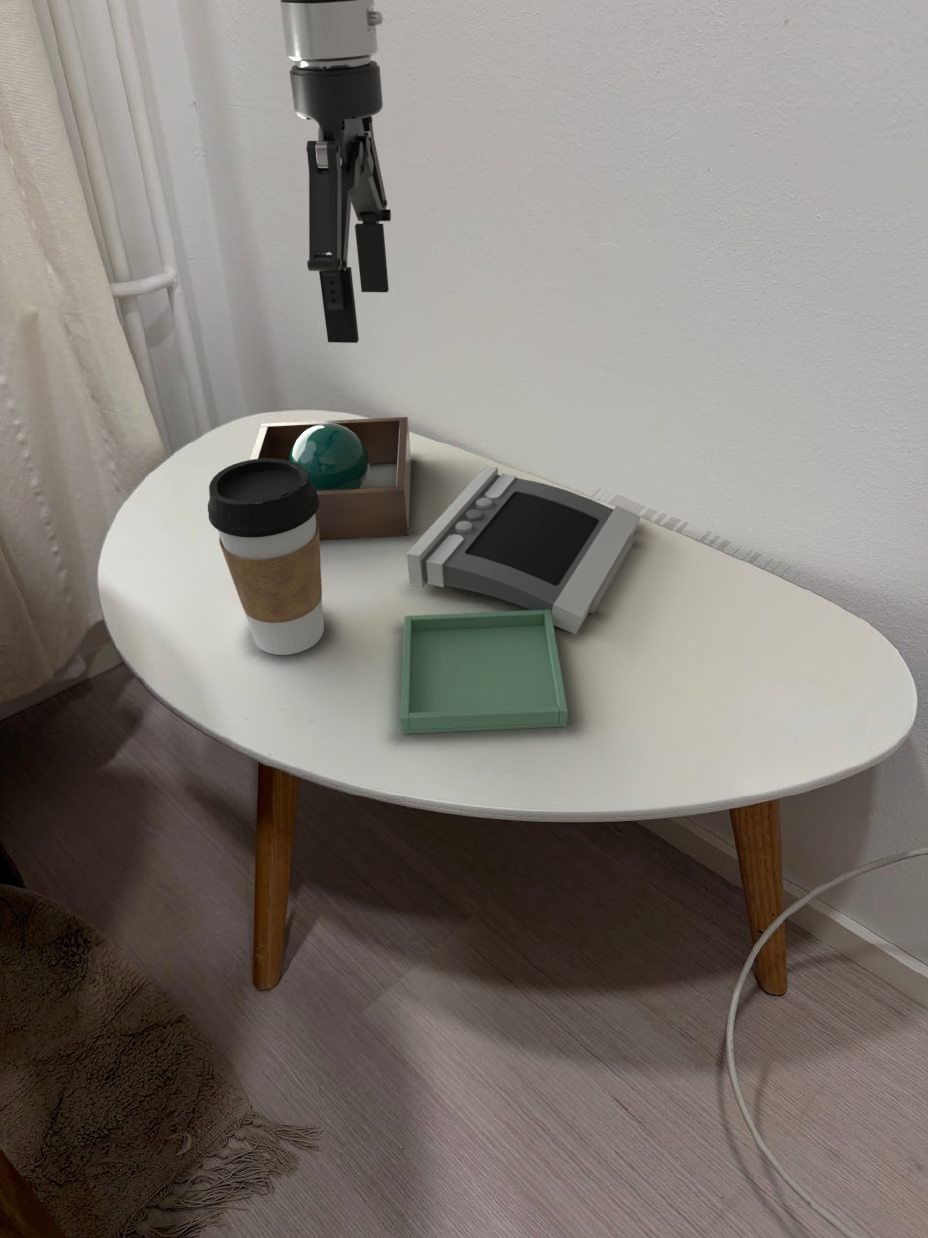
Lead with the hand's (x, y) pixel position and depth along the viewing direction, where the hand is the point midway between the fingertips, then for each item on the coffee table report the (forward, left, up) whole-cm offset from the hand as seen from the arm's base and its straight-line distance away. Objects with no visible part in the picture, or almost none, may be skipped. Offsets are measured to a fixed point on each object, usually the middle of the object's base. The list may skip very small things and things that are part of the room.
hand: (360, 314), depth 89 cm
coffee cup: (-6, -28, -17) cm, 33 cm away
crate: (-4, -6, -17) cm, 18 cm away
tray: (+10, -34, -17) cm, 40 cm away
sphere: (-4, -6, -17) cm, 18 cm away
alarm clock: (+15, -19, -17) cm, 29 cm away
